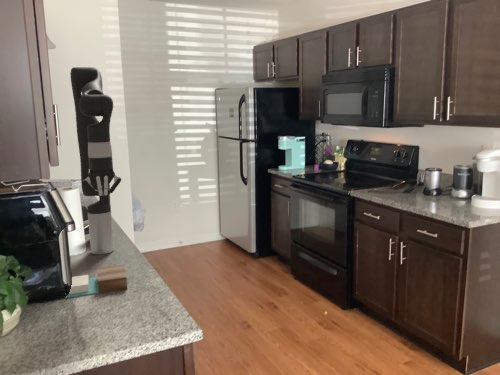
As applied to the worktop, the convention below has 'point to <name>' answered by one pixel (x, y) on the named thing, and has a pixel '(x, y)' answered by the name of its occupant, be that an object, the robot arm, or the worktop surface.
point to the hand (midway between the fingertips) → (104, 205)
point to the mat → (92, 289)
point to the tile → (79, 284)
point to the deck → (111, 278)
